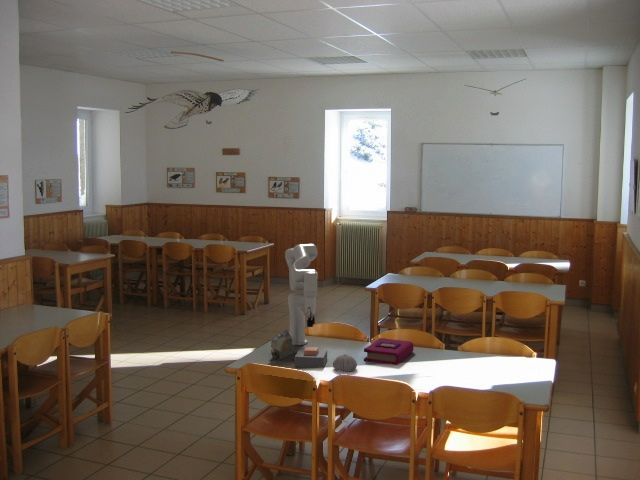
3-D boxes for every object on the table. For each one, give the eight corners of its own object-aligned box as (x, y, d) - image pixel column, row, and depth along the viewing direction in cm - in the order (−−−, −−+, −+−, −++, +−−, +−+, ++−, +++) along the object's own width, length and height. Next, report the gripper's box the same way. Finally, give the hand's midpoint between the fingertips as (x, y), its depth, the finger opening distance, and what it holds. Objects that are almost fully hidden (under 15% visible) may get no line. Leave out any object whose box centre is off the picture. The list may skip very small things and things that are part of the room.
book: (413, 353, 395) (413, 340, 394) (398, 366, 370) (398, 352, 369) (380, 349, 404) (380, 336, 403) (362, 361, 378) (362, 348, 378)
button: (306, 352, 379) (306, 346, 379) (318, 352, 378) (318, 347, 378) (304, 355, 372) (304, 350, 372) (316, 355, 371) (316, 350, 371)
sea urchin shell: (336, 374, 355) (336, 359, 354) (329, 366, 368) (329, 352, 367) (360, 372, 358) (360, 357, 357) (352, 364, 371) (352, 350, 370)
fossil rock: (281, 367, 380) (277, 343, 375) (266, 366, 384) (262, 342, 379) (296, 351, 398) (292, 327, 394) (282, 350, 402) (278, 327, 398)
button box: (299, 358, 385) (299, 348, 384) (327, 359, 382) (327, 349, 382) (294, 366, 369) (294, 356, 368) (323, 367, 367) (323, 357, 366)
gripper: (306, 290, 380) (306, 321, 382) (301, 296, 363) (301, 329, 365) (319, 290, 379) (319, 322, 381) (315, 296, 362) (315, 329, 364)
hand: (310, 325), depth 373 cm, fingers open, 5 cm apart
